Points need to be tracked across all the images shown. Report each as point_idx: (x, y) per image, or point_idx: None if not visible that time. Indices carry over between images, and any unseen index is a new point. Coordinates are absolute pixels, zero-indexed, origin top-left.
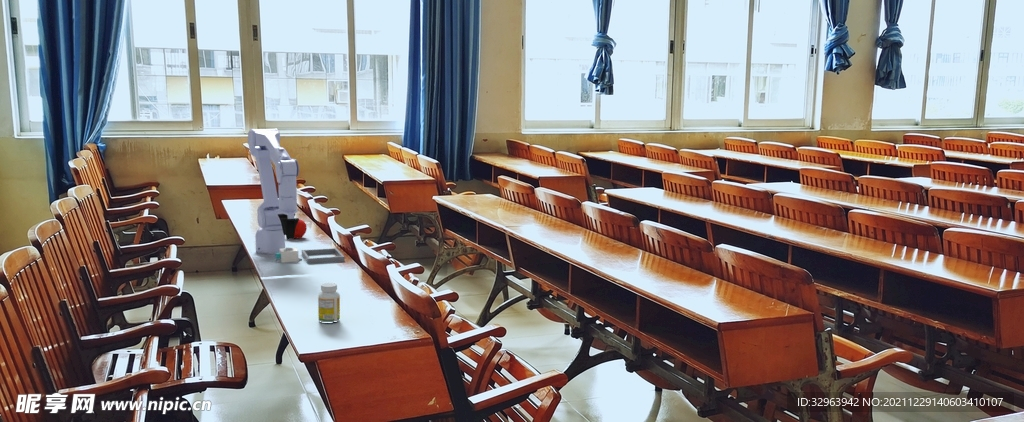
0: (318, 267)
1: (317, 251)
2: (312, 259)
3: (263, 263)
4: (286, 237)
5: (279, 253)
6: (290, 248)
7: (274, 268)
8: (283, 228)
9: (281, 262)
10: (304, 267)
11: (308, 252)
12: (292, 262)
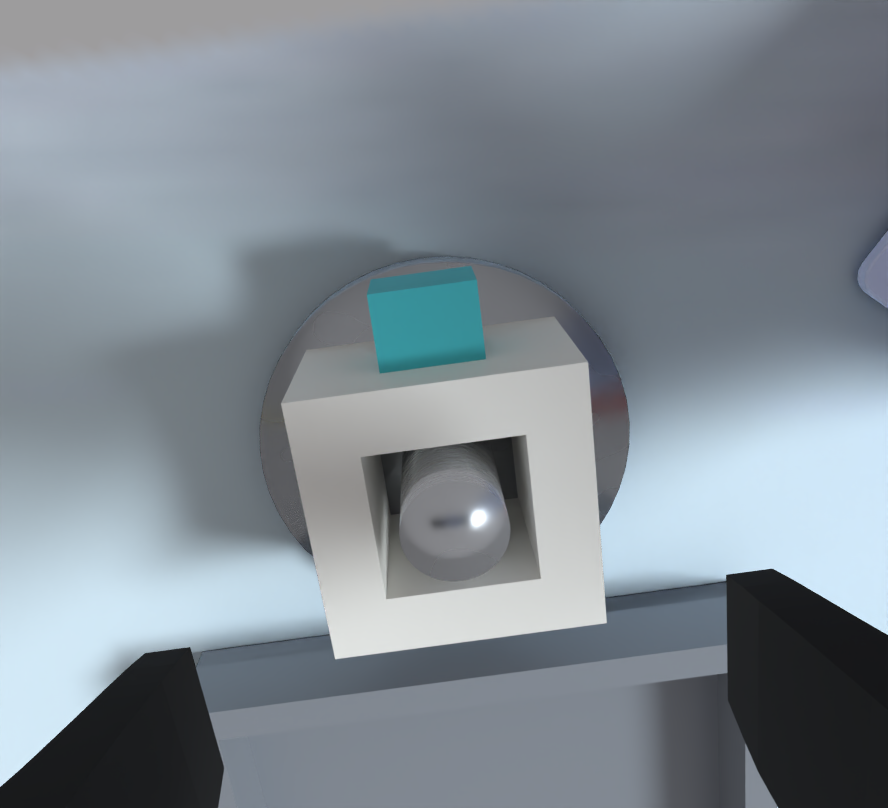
0: None
1: (735, 797)
2: None
3: (442, 59)
4: (130, 672)
5: (414, 349)
6: (436, 559)
7: (80, 241)
8: (819, 679)
9: (295, 346)
10: (131, 614)
11: None
12: (281, 493)
